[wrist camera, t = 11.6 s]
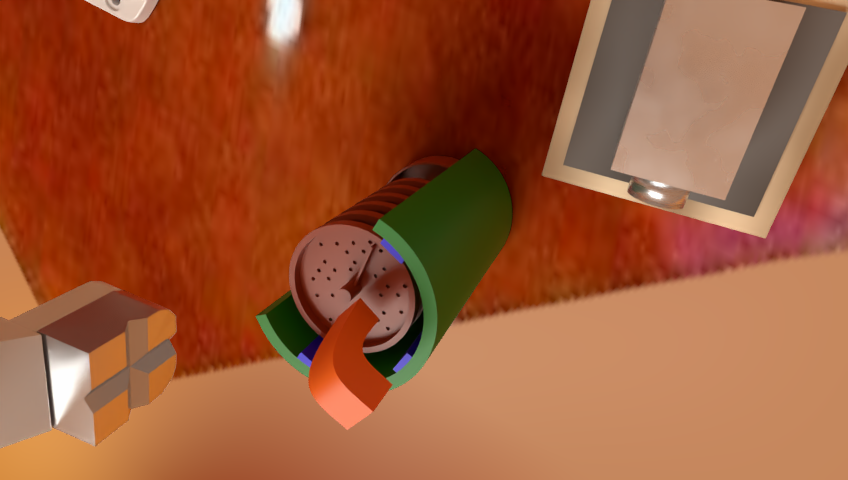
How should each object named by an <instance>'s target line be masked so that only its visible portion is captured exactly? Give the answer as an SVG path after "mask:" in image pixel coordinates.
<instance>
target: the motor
mask: <svg viewBox="0 0 848 480" xmlns="http://www.w3.org/2000/svg"><path fill="white" fill-rule="evenodd" d="M511 224H512V202H511V197H510V193H509V190H508V187H507V184H506V182H505V180H504V178H503V176H502V175H501V173H500V171H499V170H498V169H497V167H496V166H495V165H494V164H493V162H492V161H491V160H490V159H489V158H488V157H486V156H485V155H484V154H483V153H482V152H480V151H479V150H477V149H476V148H475V149H474V150H473V151H471V152H470V153H469V154H467V155H466V156H464V157H463V158H462V159H460V160H459V159H456V158H453V157H449V156H442V155H435V156H428V157H424V158H421V159H419V160H417V161H415V162H413V163H412V164H410V165H408V166H407V167H405V168H403V169H402V170H400V171H399V172H397V173H396V174H395V175H394V176H393V177H392V178H391V179H390V180H389V182H388V183H387V185H385V186H384V187H382V188H381V189H379V190H378V191H376V192H374V193H373V194H371V195H370V196H368V197H367V198H365V199H363V200H362V201H360V202H358V203H357V204H355V205H354V206H352V207H350V208H349V209H347V210H346V211H344V212H343V213H341V214H340V215H338V216H336V217H334V218H333V219H331V220H330V221H328V222H327V223H325V224H324V225H322V226H320V227H319V228H317V229H315V230H314V231H312V232H311V233H309V234H308V235H307V236H305V237H304V238H303V239H302V240H301V241H300V243H299V244H298V246H297V247H296V249H295V251H294V253H293V255H292V258H291V262H290V268H289V282H290V289H291V290H290V291H288V292H287V293H286V294H284V295H283V296H282V297H280V298H279V299H278V300H276V301H275V302H274V303H272V304H271V305H270V306H268V307H267V308H266V309H264V310H263V311H262V312H260V313H259V314H258V315H256V318H257V320H258V322H259V324H260V326H261V328H262V330H263V332H264V333H265V335H266V337H267V338H268V340H269V341H270V342H271V344H272V345H273V346H274V348H275V349H276V350H277V351H278V352H279V354H280V355H281V356H282V357H283V358H284V359H285V360H286V361H287V362H288V363H290V364H291V365H292V366H293V367H294V368H295V369H297V370H298V371H299V372H301V373H302V374H304V375H305V376H306V377H308V378H309V388H310V391H311V393H312V395H313V397H314V398H315V400H316V401H317V402H318V404H319V405H320V406H321V407H322V408H323V409H324V410H325V411H326V412H327V413H328V414H329V415H331V416H332V417H333V418H334V419H335V420H336V421H337V422H339V423H340V424H341V425H342V426H343V427H344V428H346V429H347V430H348V429H349V428H351V427H352V426H353V425H355V424H356V423H358V422H359V421H360V420H362V419H364V418H365V417H366V416H368V415H369V414H370V413H372V412H373V411H374V410H375V408H376V407H377V406H378V404H379V403H380V401H381V400H382V399H383V397H384V396H385V394H386V393H387V392H388V391H389V390H392V389H394V388H397V387H399V386H401V385H403V384H404V383H406V382H407V381H409V380H410V379H411V378H412V377H413V376H415V375H416V374H417V373H418V372H419V370H420V369H421V368H422V367H423V365H424V364H425V363H426V361H427V359H428V358H429V357H430V355H431V354H432V352H433V351H434V349H435V348H436V346H437V345H438V343H439V342H440V340H441V339H442V337H443V336H444V334H445V332H446V331H447V330H448V328H449V327H450V325H451V324H452V322H453V321H454V319H455V318H456V316H457V315H458V313H459V312H460V310H461V309H462V307H463V306H464V304H465V303H466V301H467V300H468V298H469V297H470V295H471V294H472V292H473V291H474V289H475V288H476V286H477V285H478V283H479V282H480V280H481V279H482V277H483V276H484V274H485V273H486V271H487V270H488V268H489V267H490V265H491V264H492V262H493V261H494V260H495V258H496V257H497V255H498V254H499V252H500V251H501V249H502V247H503V246H504V244H505V242H506V240H507V238H508V235H509V233H510V229H511Z"/></svg>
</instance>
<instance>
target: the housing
mask: <svg viewBox="0 0 848 480" xmlns="http://www.w3.org/2000/svg"><path fill="white" fill-rule="evenodd" d="M805 10H806V7H801V6H796V5H790V4H785V3H780V2H774V1H769V0H664V2H663V5H662V8H661V11H660V14H659V17H658V21H657V24H656V27H655V30H654V33H653V36H652V39H651V42H650V45H649V48H648V51H647V54H646V57H645V60H644V63H643V66H642V70H641V73H640V76H639V79H638V82H637V85H636V88H635V91H634V94H633V97H632V100H631V103H630V106H629V109H628V112H627V115H626V118H625V122H624V125H623V128H622V131H621V134H620V137H619V140H618V143H617V146H616V150H615V154H614V158H613V162H612V166H611V170H613V171H617V172H621V173H624V174H628V175H632V177H631V179H630V182H629V185H628V188H627V192H628V193H629V194H630V195H631V196H632V197H634V198H636V199H638V200H640V201H642V202H645V203H647V204H650V205H654V206H657V207H661V208H666V209H682V208H684V207H685V204H686V202H687V199H688V196H689V194H690V191H692V192H695V193H699V194H703V195H707V196H710V197H714V198H718V199H722V200H725V199H726V196H727V194H728V192H729V189H730V187H731V184H732V182H733V180H734V177H735V175H736V173H737V170H738V168H739V166H740V163H741V161H742V159H743V156H744V154H745V151H746V149H747V147H748V144H749V142H750V140H751V137H752V135H753V133H754V130H755V128H756V125H757V123H758V121H759V118H760V116H761V114H762V111H763V109H764V107H765V104H766V102H767V99H768V97H769V95H770V92H771V90H772V88H773V85H774V83H775V81H776V78H777V76H778V74H779V71H780V69H781V66H782V64H783V62H784V59H785V57H786V55H787V52H788V50H789V48H790V45H791V43H792V40H793V38H794V36H795V33H796V31H797V29H798V26H799V24H800V22H801V19H802V17H803V14H804V12H805Z"/></svg>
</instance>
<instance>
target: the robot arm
mask: <svg viewBox="0 0 848 480" xmlns="http://www.w3.org/2000/svg"><path fill="white" fill-rule="evenodd" d="M85 1H87V2H89V3H91V4H93V5H95V6H97V7H99V8H101V9H103V10H105V11H107V12H109V13H110V14H112V15H114V16H116V17H118V18H120V19H122V20H124V21H127V22H134V23H141V22H144V21H145V20H146V19H147V18H148V17H149V15H150V14H151V12H152V11H153V9H154V7H155V6H156V4H157V2H158V0H120V2H119V0H85ZM175 333H176V315H175V314H173V313H172V312H171V311H170V310H169V309H166V308H164V307H162V306H159V305H157V304H155V303H153V302H150V301H148V300H146V299H143V298H141V297H139V296H136V295H134V294H132V293H129V292H127V291H125V290H121V289H118V288H116V287H114V286H112V285H109V284H107V283H105V282H102V281H90V282H88V283H86V284H84V285H81V286H79V287H77V288H75V289H73V290H71V291H69V292H67V293H65V294H63V295H61V296H59V297H57V298H54V299H52V300H50V301H48V302H46V303H44V304H42V305H40V306H38V307H36V308H34V309H32V310H29V311H27V312H25V313H23V314H21V315H19V316H17V317H15V318H13V319H11V320H7V319H5V318H2V317H0V448H3V447H5V446H8V445H11V444H14V443H17V442H20V441H22V440H25V439H28V438H31V437H34V436H37V435H39V434H42V433H45V432H48V431H51V430H52V427H53V428H55V429H57V430H60V431H62V432H64V433H66V434H69V435H71V436H73V437H75V438H78V439H80V440H82V441H84V442H87V443H89V444H92V445H93V446H97V445H98V444H99V443H100V442H102V441H103V440H104V439H105V438H107V437H108V436H109V435H110V434H112V433H113V432H114V431H116V430H117V429H118V428H119V427H121V426H122V425H123V424H124V423H126V422H127V421H128V420H129V415H130V412H131V409H133V408H136V407H140V406H144V405H148V404H150V403H151V402H152V401H153V400H155V399H156V398H157V397H158V396H159V395H161V394H162V393H163V391H164V389H165V388H166V387H167V385H168V384H169V382H170V381H171V379H172V377H173V374H174V371H175V367H176V352H175V350H174V348H173V346H172V344H171V342H170V340H169V339H170V338H171V337H172V336H173V335H174V334H175Z"/></svg>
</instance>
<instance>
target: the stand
mask: <svg viewBox="0 0 848 480" xmlns="http://www.w3.org/2000/svg"><path fill="white" fill-rule="evenodd" d="M769 1H774V2H780V3H785V4H790V5H796V6H801V7H806V10H805V12H804V14H803V17H802V19H801V22H800V24H799V26H798V29H797V31H796V33H795V36H794V38H793V40H792V43H791V45H790V48H789V50H788V52H787V55H786V57H785V59H784V62H783V64H782V66H781V69H780V71H779V74H778V76H777V78H776V81H775V83H774V85H773V88H772V90H771V92H770V95H769V97H768V99H767V102H766V104H765V107H764V109H763V111H762V114H761V116H760V118H759V121H758V123H757V125H756V128H755V130H754V133H753V135H752V137H751V140H750V142H749V144H748V147H747V149H746V151H745V154H744V156H743V159H742V161H741V163H740V166H739V168H738V170H737V173H736V175H735V177H734V180H733V182H732V184H731V187H730V189H729V192H728V194H727V196H726V199H725V200H722V199H718V198H714V197H710V196H707V195H703V194H699V193H695V192H692V191H690V194H689V196H688V199H687V202H686V204H685V207H684V208H682V209H666V208H661V207H657V206H654V205H650V204H647V203H645V202H642V201H640V200H638V199H636V198H634V197H632V196H631V195H630V194H629V193H628V192H627V188H628V185H629V182H630V179H631V177H632V175H628V174H624V173H621V172H617V171H613V170H611V166H612V162H613V158H614V154H615V150H616V146H617V143H618V140H619V137H620V134H621V131H622V128H623V125H624V122H625V118H626V115H627V112H628V109H629V106H630V103H631V100H632V97H633V94H634V91H635V88H636V85H637V82H638V79H639V76H640V73H641V70H642V66H643V63H644V60H645V57H646V54H647V51H648V48H649V45H650V42H651V39H652V36H653V33H654V30H655V27H656V24H657V21H658V17H659V14H660V11H661V8H662V5H663V2H664V0H591V2H590V5H589V9H588V12H587V16H586V19H585V23H584V27H583V30H582V34H581V37H580V41H579V44H578V48H577V51H576V55H575V59H574V62H573V66H572V69H571V73H570V76H569V80H568V83H567V87H566V91H565V94H564V98H563V101H562V105H561V108H560V112H559V115H558V119H557V122H556V126H555V130H554V133H553V137H552V140H551V144H550V147H549V151H548V154H547V158H546V162H545V165H544V169H543V172H542V176H545V177H549V178H552V179H556V180H559V181H563V182H566V183H570V184H574V185H577V186H581V187H584V188H588V189H591V190H595V191H599V192H602V193H606V194H609V195H613V196H616V197H620V198H623V199H627V200H631V201H634V202H638V203H641V204H645V205H648V206H652V207H656V208H659V209H663V210H666V211H670V212H673V213H677V214H680V215H684V216H688V217H691V218H695V219H698V220H702V221H705V222H709V223H713V224H716V225H720V226H723V227H727V228H730V229H734V230H737V231H741V232H745V233H748V234H752V235H755V236H759V237H762V238H766V236H767V234H768V232H769V230H770V227H771V225H772V223H773V221H774V219H775V217H776V215H777V213H778V211H779V208H780V206H781V204H782V202H783V200H784V198H785V196H786V194H787V192H788V189H789V187H790V185H791V183H792V181H793V179H794V177H795V175H796V173H797V170H798V168H799V166H800V164H801V162H802V160H803V158H804V156H805V153H806V151H807V149H808V147H809V145H810V143H811V141H812V139H813V137H814V134H815V132H816V130H817V128H818V126H819V124H820V122H821V120H822V118H823V115H824V113H825V111H826V109H827V107H828V105H829V103H830V101H831V99H832V96H833V94H834V92H835V90H836V88H837V86H838V84H839V82H840V80H841V77H842V75H843V73H844V71H845V69H846V67H847V65H848V0H769Z"/></svg>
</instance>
